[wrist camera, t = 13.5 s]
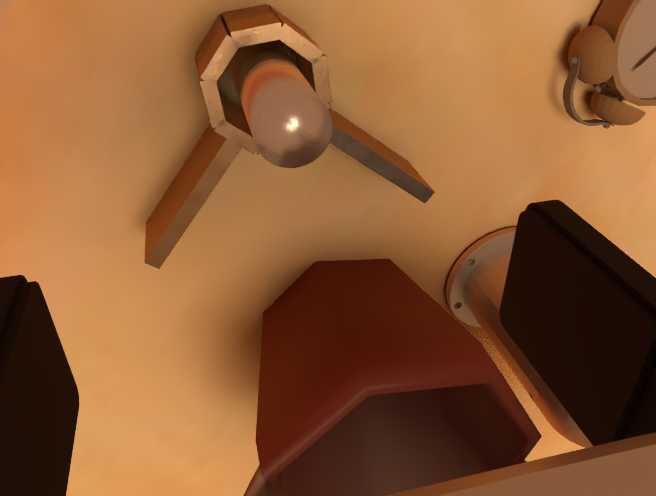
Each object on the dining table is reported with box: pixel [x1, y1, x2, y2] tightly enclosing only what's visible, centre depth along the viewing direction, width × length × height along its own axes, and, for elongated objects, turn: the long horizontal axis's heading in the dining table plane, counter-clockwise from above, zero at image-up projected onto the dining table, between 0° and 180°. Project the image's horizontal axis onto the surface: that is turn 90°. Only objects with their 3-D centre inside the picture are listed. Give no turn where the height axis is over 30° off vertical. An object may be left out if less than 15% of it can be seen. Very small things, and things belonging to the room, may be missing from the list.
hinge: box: [145, 5, 434, 269], centre depth 45 cm, size 20×20×6 cm
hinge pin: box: [228, 40, 332, 168], centre depth 37 cm, size 4×4×14 cm
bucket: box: [244, 259, 542, 496], centre depth 48 cm, size 24×22×25 cm
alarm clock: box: [563, 0, 656, 128], centre depth 48 cm, size 11×5×15 cm
